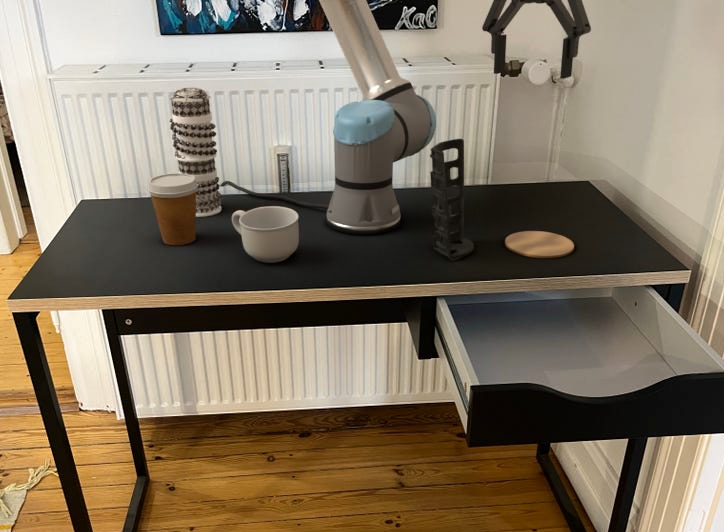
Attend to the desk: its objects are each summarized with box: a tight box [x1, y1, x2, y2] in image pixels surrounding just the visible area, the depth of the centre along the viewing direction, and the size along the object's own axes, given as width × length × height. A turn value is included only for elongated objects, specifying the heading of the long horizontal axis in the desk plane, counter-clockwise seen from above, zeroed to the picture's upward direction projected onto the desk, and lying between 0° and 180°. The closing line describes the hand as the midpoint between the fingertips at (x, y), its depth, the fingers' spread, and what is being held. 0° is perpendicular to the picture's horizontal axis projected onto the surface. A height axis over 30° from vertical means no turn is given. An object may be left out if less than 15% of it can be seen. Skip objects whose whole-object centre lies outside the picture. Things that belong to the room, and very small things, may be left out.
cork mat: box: [504, 230, 575, 259], centre depth 147 cm, size 13×13×1 cm
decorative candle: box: [169, 87, 222, 218], centre depth 159 cm, size 9×9×25 cm
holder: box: [429, 138, 475, 261], centre depth 140 cm, size 11×8×20 cm
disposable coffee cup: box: [146, 172, 198, 246], centre depth 147 cm, size 10×10×12 cm
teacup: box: [231, 205, 300, 264], centre depth 141 cm, size 14×11×8 cm
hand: (531, 75), depth 139 cm, fingers open, 13 cm apart
